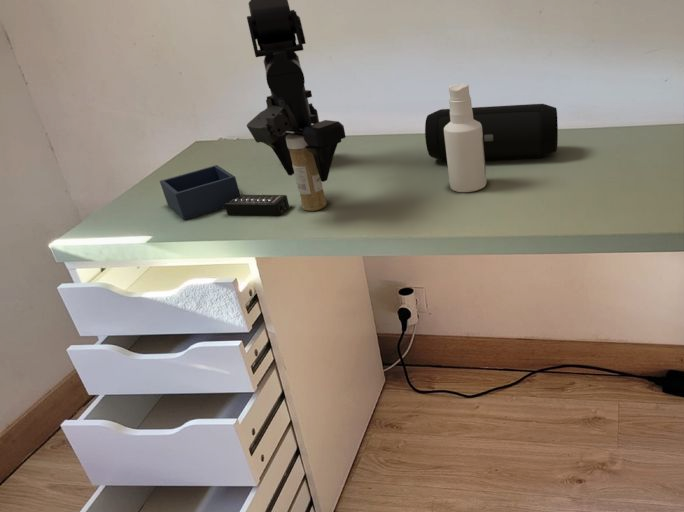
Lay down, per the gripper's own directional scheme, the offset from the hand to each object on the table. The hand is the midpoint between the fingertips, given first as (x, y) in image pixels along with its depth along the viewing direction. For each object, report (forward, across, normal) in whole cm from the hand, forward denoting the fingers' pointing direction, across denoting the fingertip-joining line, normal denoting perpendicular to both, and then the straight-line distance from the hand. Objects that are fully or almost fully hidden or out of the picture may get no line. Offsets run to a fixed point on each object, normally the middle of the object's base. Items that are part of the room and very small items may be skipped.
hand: (307, 177), depth 127 cm
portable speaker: (+5, +15, +36) cm, 39 cm away
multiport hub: (+6, -9, -6) cm, 12 cm away
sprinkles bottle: (+6, 0, 0) cm, 6 cm away
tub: (+5, -22, -8) cm, 25 cm away
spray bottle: (+6, +20, +20) cm, 29 cm away
